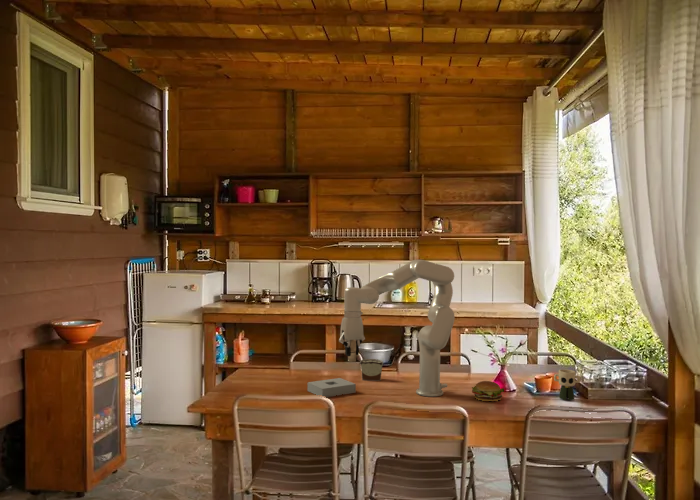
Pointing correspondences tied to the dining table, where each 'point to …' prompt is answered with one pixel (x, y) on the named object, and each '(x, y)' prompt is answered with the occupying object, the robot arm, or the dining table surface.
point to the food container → (371, 369)
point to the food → (487, 391)
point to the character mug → (566, 383)
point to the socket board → (331, 387)
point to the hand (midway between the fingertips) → (351, 354)
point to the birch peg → (352, 351)
